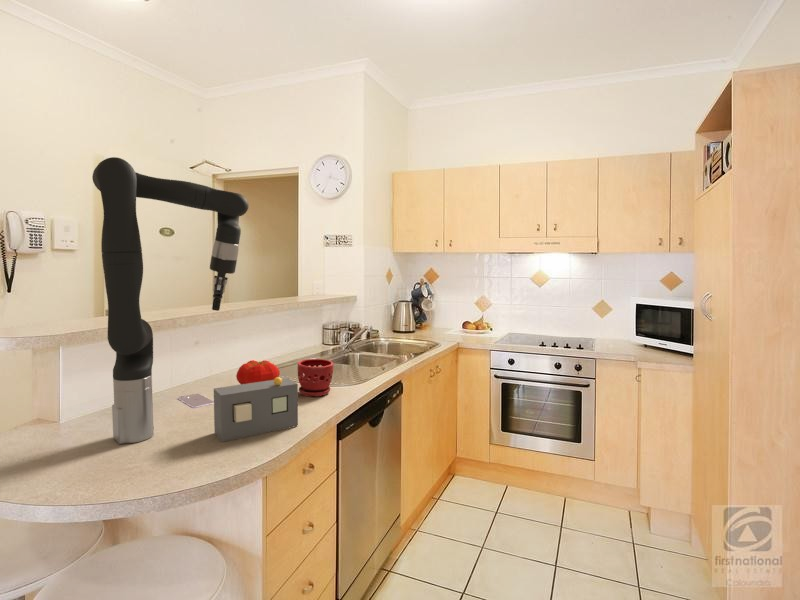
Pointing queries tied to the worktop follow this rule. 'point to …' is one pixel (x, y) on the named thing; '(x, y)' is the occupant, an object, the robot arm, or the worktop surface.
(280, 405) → the key sage
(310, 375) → the plant pot
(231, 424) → the keypad console
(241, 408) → the block
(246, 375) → the tomato
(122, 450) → the worktop surface
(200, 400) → the mobile phone
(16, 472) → the worktop surface
